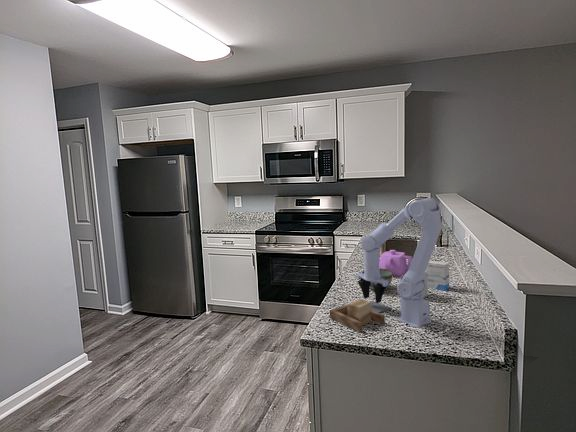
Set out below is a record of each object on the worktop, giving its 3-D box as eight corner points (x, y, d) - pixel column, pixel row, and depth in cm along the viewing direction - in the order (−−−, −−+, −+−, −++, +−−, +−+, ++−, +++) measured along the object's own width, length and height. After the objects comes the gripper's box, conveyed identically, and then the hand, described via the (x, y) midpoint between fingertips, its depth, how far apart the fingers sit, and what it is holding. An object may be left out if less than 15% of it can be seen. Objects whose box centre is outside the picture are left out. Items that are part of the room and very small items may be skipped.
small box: (414, 292, 157) (414, 268, 156) (427, 294, 154) (427, 270, 152) (407, 297, 151) (407, 273, 150) (421, 300, 148) (421, 275, 146)
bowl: (398, 288, 164) (398, 270, 163) (384, 296, 154) (384, 277, 153) (371, 283, 173) (371, 266, 172) (357, 290, 163) (356, 273, 162)
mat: (391, 309, 139) (391, 307, 139) (372, 315, 134) (372, 314, 134) (372, 302, 148) (372, 300, 147) (354, 307, 142) (354, 306, 142)
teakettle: (387, 279, 177) (387, 255, 176) (370, 271, 194) (370, 248, 192) (417, 275, 182) (417, 251, 181) (398, 267, 198) (397, 245, 197)
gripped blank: (371, 320, 129) (370, 302, 128) (359, 327, 125) (358, 307, 124) (359, 317, 133) (359, 299, 132) (347, 323, 128) (347, 304, 127)
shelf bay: (384, 323, 126) (384, 315, 126) (359, 332, 120) (359, 323, 120) (354, 310, 139) (353, 303, 139) (330, 318, 133) (329, 310, 133)
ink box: (449, 288, 160) (449, 262, 159) (445, 291, 156) (445, 265, 155) (430, 285, 166) (430, 260, 165) (425, 287, 162) (425, 262, 161)
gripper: (393, 267, 135) (394, 302, 136) (365, 261, 147) (366, 293, 148) (380, 271, 131) (381, 307, 133) (352, 263, 143) (353, 296, 145)
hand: (372, 300), depth 140 cm, fingers open, 6 cm apart
